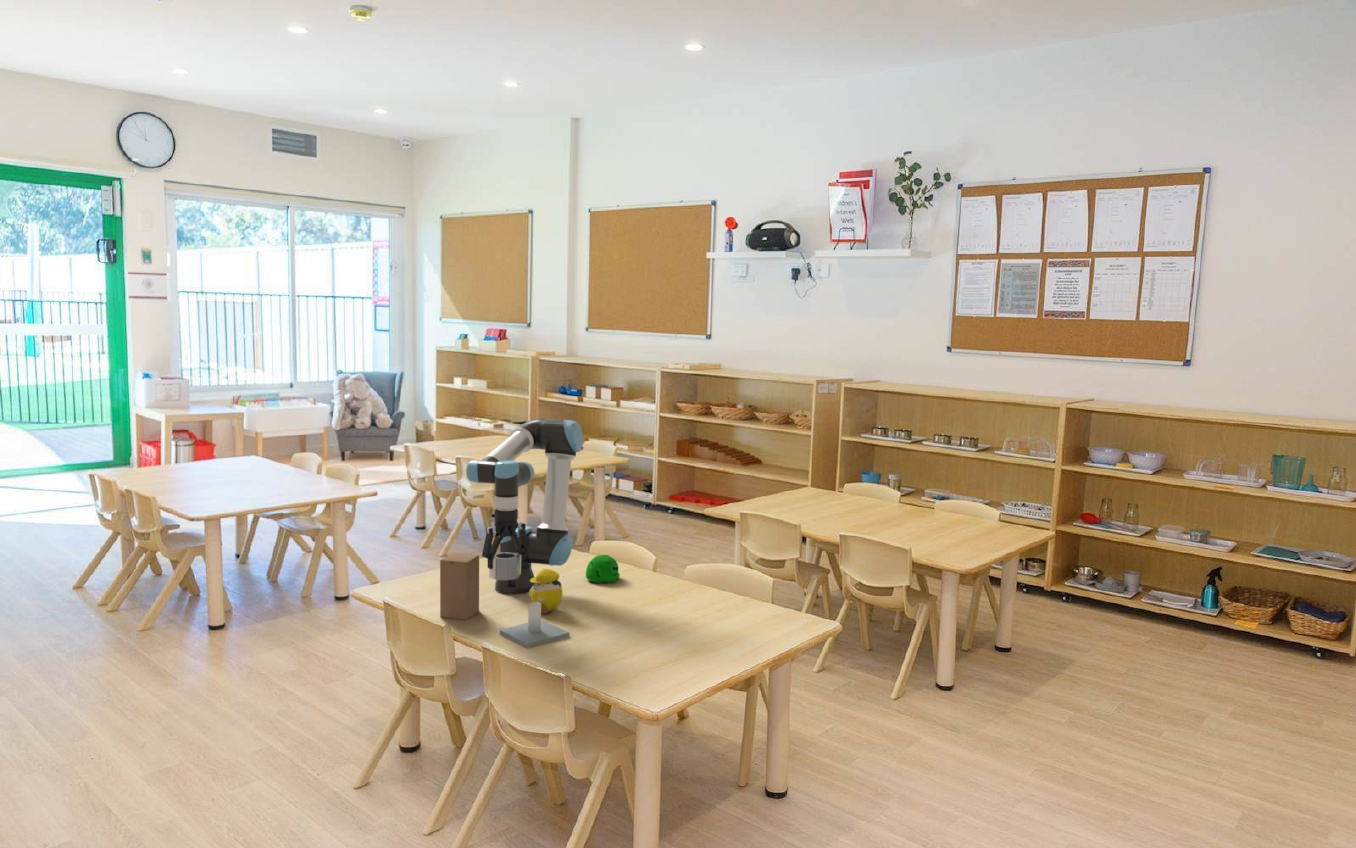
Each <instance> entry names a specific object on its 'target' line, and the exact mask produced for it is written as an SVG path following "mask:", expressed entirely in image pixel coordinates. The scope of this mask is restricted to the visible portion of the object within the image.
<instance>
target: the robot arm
mask: <svg viewBox="0 0 1356 848" xmlns="http://www.w3.org/2000/svg"><path fill="white" fill-rule="evenodd" d="M583 444H584V437H583V430H582V426H581V425H580V424H579V423H578V422H577V421H575V420H568V419H556V418H555V419H554V418H553V419H551V418H535V419H532V420H528V421H526V422H524V423H522V424H520V425H518V426H517V427H516V428H514V429H513V430H512V431H511V433H510V434H509V436H508V437H507V438H506V439H505V440H504V441H503V442H502V443H500V444H499V445H498V446H497V447H496V448H494V449H493V450H492V451H491V452H489V453H488V454H487V455H486V456H485V457H484V458H482V459H481V460H479V459H476V460H475V459H474V460H473V459H472V460H470V461H468V463H467V465H466V471H465V474H466V478H467V480H468V481H469V482H472V483H477V484H491V485H494V508H495V509H494V524H493V526H486V527H485V534H486V535H485V538H484V544H483V548H482V554H481V556H482V557H483V558H485V559H487V569H488V570H489V578H491V579H493V580H495V579H496V559H494V556H495V554H496V553H498V552H497V551H498V549H499V553H502V552H509V553H516V554H519V555H520V576H519V577H518V578H517V579H513V580H495V583H494V590H495V591H496V592H498V593H502V594H506V595H507V594H508V595H519V594H520V595H521V594H526V593H528V594H529V591H530V589H531V588H532V586H533V585H534V584H535V583H532V582H530V580H531V578H534V577H535V575H534V574H535V573H534V572H533V569H532V564H536V565H537V564H539V565H547V566H550V567H553V566H558V567H559V566H560V567H561V566H563V565H565V564H566V563H567V562H568V560H569V558H570V556H571V553H572V550H573V544H574V543H573V537H572V536H571V535H570V534H569V529H568V527H567V526H566V516H567V515H566V514H567V508H568V507H567V505H568V496H569V495H568V494H569V487H570V476H571V465H572V461H573V460H574V459H575V458H576V457H577V456H576V455H577V453H579V452H581V451H582V447H583V446H584V445H583ZM531 450H544V455H545V457H547V468H546V477H545V485H544V487H545V488H544V497H543V505H542V515H541V516H542V517H541V523H540V524H538V525H537V526H536V531H533V528H532V527H531V526H529V525H526V523H523V522H518V519H519V510H518V508H519V487H521V486H525V485H527V484H529V483H531V482H532V480H533V479H534V477H535V469H534V467H533V465H532V464H530V463H529V462H527V461H519V462H518V461H515V460H517V459H518V458H519V457H520V456H521V455H522V454H523V453H527V452H529V451H531Z"/></svg>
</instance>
